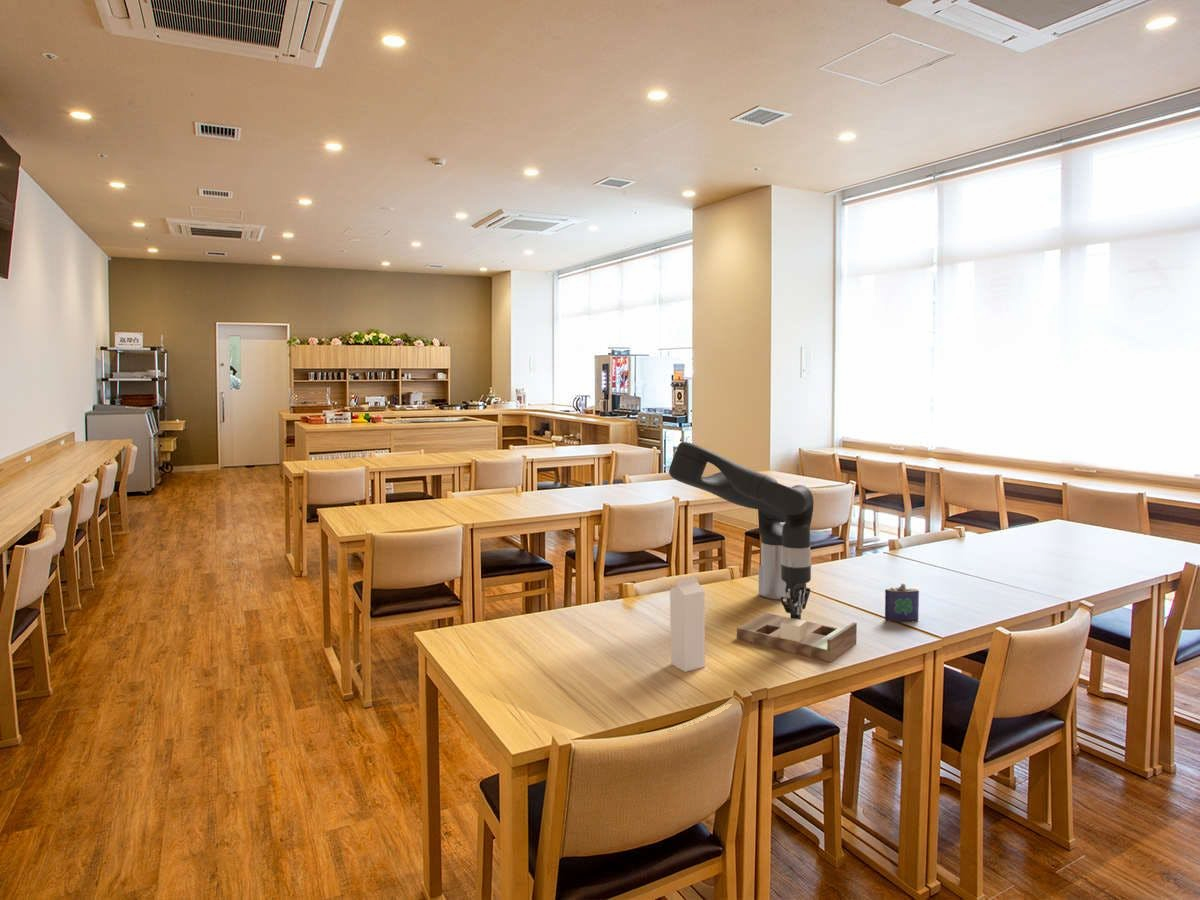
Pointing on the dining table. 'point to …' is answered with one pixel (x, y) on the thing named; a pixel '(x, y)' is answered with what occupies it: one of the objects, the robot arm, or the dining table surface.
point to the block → (793, 629)
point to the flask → (901, 604)
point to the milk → (687, 624)
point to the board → (816, 644)
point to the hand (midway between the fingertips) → (795, 627)
